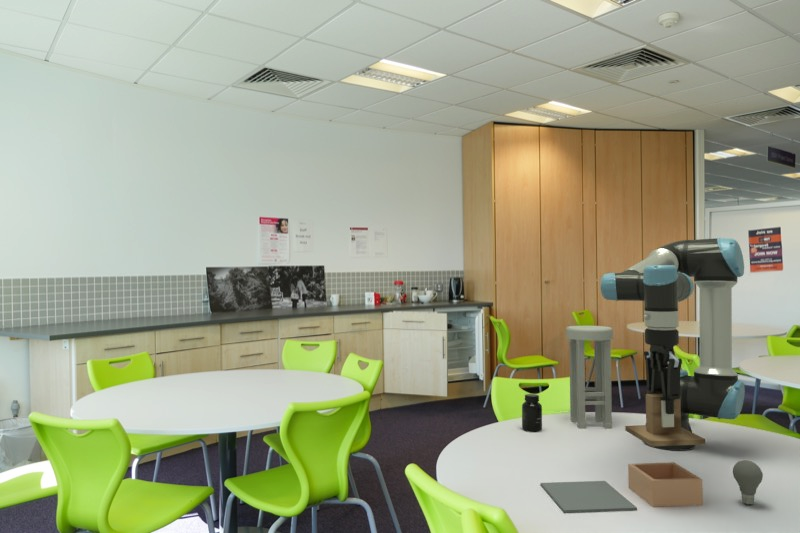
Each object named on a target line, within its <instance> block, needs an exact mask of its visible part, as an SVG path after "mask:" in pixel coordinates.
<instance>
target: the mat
mask: <svg viewBox="0 0 800 533" xmlns="http://www.w3.org/2000/svg"><path fill="white" fill-rule="evenodd" d="M540 486H541V488H542V489H543V490H544V491H545V493H546V494H547V495H548V496H549V497H550V498H551V499H552V500H553V502H554V503H555V504H556V505H557V506H558V507H559V509H560V510H561V511H562V512H563V513H564V514H569V513H572V514H575V513H598V512H600V513H601V512H605V513H606V512H624V511H625V512H627V511H628V512H629V511H631V512H633V511H638V507H637V506H636V505H634V503H633V502H631V501H630V500H628V499H627V498H626V497H625V496H624V495H623V494H622V493H620V492H619V491H618V490H616V489H615V488H614V487H613V486H612V485H611V484H609V483H608V482H607V481H606V480H591V481H589V480H588V481H560V482H554V481H552V482H540Z"/></svg>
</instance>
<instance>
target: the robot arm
mask: <svg viewBox="0 0 800 533" xmlns="http://www.w3.org/2000/svg"><path fill="white" fill-rule="evenodd" d="M744 261H745V260H744V256H743V252H742V248H741V246H740V244H739V242H738V241H737V240H736V239H734V238H726V237H725V238H724V237H723V238H721V237H717V238H704V239H702V238H701V239H699V238H698V239H682V240H677V241H673V242H669V243H667V244H665V245H661V246H659V247H657V248H655V249H654V250H652V251H651V252H650V253H649V254H648V255H647V257H646V258H644V259H642V260H640V261H639V262H638V263H636V264H634V265H632V266H630V267H628V268H627V269H625V270H623V271H621V272H608V273H605V274H603V275H602V276H601V279H600V284H599V286H600V293H601V295H602V297H603V299H605V300H607V301H616V302H618V301H623V302H625V301H630V302H631V301H634V302H637V301H638V302H643V304H644V306H643V308H644V309H643V311H644V315H643V319H644V326H645V327H646V328H645V329H644V342H645V344H646V345H649V350H647V351H646V350H645V351H643V356H644V361H645V376H646V390H647V391H646V394H663V398H660V399H661V420H662V427H674V400H676V399H680V402H681V427H682V428H684V429H686V430H688V431H690V432H692V433H693V430H692V428H691V424H690V420H689V421H688V414H690V415H695V416H701V417H709V418H716V419H718V420H721V419H723V420H735V419H737V418H738V417H739V415H740V413H741V411H742V410H743V406H744V401H745V394H746V388H745V383H744V381H742V380H740V379H739V375H738V373H737V372H736V371H735V369H733V367H732V366H733V361H732V360H733V354H732V353H733V352H732V350H733V348H732V347H733V346H732V345H733V344H732V342H733V340H732V339H733V336H732V335H733V330H732V328H733V325H732V324H733V323H732V322H733V321H732V320H733V319H732V316H733V314H732V311H733V310H732V304H733V303H732V302H733V301H732V299H733V298H732V296H733V295H732V293H733V292H732V290H733V287H735V286H736V285H737V284H738V278H741V277H743V276H744V274H745V262H744ZM692 277H693V280H692ZM694 285H696V287H697V286H698V289H699V365H698V367H696V368H695V369H694V370H693V375H689V373H688V370H687V369H686V370H685V369H682V368H681V367H682V364H683V360H682V358H677V357H676V354H675V349H674V347H675V346H677V345H679V343H680V342H679V341H680V336H679V335H680V334H679V333H680V332H679V330H678V329H677V328H678V327H679V324H680V323H679V303H680V302H682V301H684V300H686V299H689V298H690V297H691V295H692V294H693V292H694V288H695V286H694ZM643 444H645V445H647V446H650V445H648V444H647V443H645V442H643ZM650 447H653V448H657V449H662V450H670V451H689V450H692V449H694V448H695V447H696V445H676V446H650Z"/></svg>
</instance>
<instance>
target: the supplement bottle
mask: <svg viewBox="0 0 800 533" xmlns="http://www.w3.org/2000/svg"><path fill="white" fill-rule="evenodd" d="M539 395H540V394H535V393H526V394H524V402H523V403H522V404H521V428H522V430H524V431H525V432H530V433H538V432H541V431H542V430H543V407H542V406H543V405H542V403H540V396H539Z"/></svg>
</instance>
